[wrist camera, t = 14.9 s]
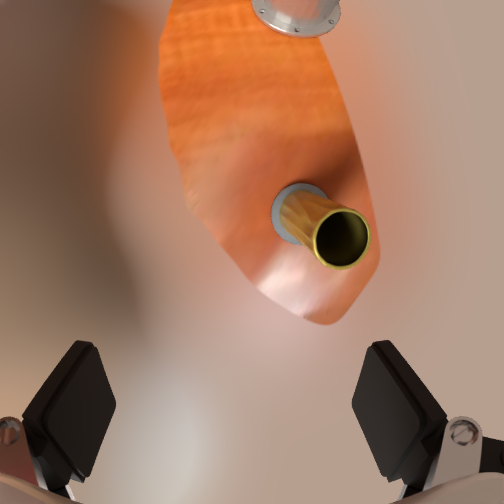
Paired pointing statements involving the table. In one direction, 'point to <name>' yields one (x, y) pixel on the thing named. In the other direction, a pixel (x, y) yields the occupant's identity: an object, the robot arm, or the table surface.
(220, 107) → the table surface
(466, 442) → the robot arm
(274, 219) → the coaster
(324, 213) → the vase
